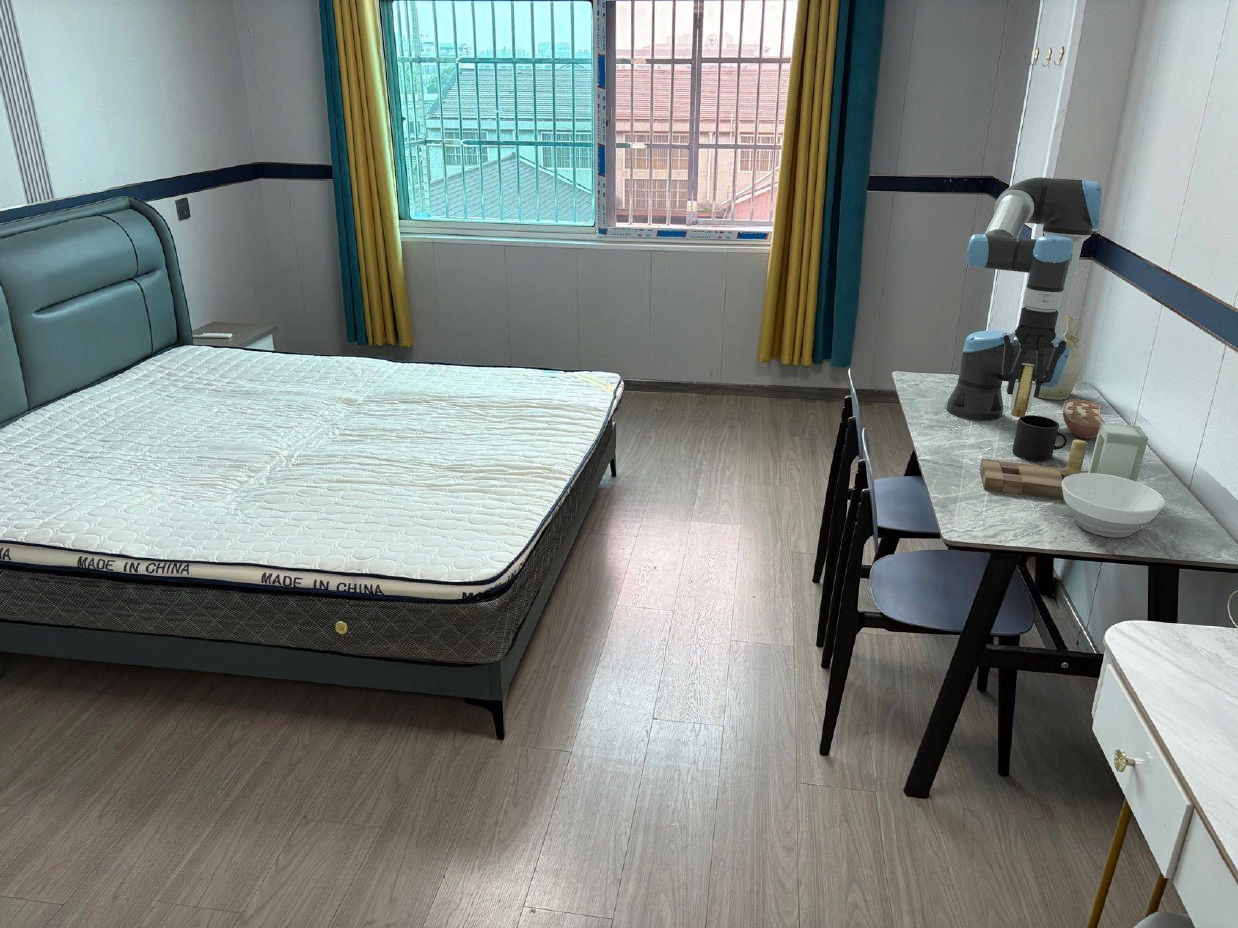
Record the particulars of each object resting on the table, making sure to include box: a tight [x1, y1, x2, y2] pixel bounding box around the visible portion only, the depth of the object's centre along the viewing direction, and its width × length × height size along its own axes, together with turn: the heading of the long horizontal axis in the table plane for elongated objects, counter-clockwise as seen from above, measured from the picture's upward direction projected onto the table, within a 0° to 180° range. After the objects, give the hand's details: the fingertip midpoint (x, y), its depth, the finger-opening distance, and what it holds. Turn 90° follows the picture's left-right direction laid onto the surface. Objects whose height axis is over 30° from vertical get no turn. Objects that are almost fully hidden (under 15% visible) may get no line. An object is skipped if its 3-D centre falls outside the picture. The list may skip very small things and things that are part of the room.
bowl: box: [1062, 473, 1166, 539], centre depth 190 cm, size 20×19×8 cm
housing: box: [1087, 422, 1149, 482], centre depth 203 cm, size 8×8×13 cm
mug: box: [1012, 414, 1068, 462], centre depth 226 cm, size 9×12×9 cm
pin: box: [1010, 363, 1036, 418], centre depth 206 cm, size 3×3×12 cm
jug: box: [1037, 313, 1083, 401], centre depth 270 cm, size 15×16×25 cm
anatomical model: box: [1062, 399, 1106, 440], centre depth 247 cm, size 23×10×5 cm, turn 158°
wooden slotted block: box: [979, 439, 1089, 501], centre depth 207 cm, size 12×30×12 cm, turn 74°
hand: (1019, 408), depth 207 cm, fingers closed on pin, 3 cm apart
